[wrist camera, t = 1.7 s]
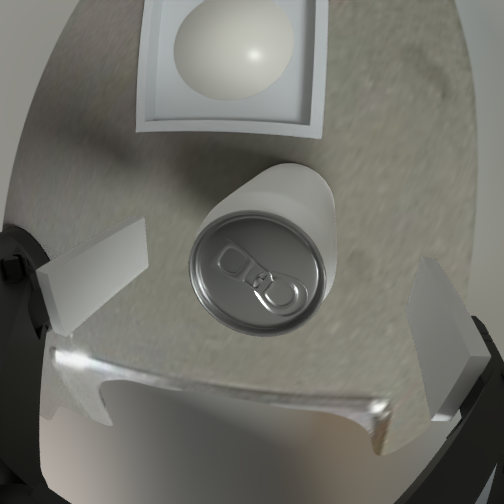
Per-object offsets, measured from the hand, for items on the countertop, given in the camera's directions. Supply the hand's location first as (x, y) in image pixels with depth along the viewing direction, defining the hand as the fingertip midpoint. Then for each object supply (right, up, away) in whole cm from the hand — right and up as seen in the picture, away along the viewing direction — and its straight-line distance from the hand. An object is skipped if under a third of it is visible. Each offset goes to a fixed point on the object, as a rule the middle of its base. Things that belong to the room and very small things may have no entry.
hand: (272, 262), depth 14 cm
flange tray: (-2, +16, +5) cm, 17 cm away
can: (+2, +4, +9) cm, 10 cm away
